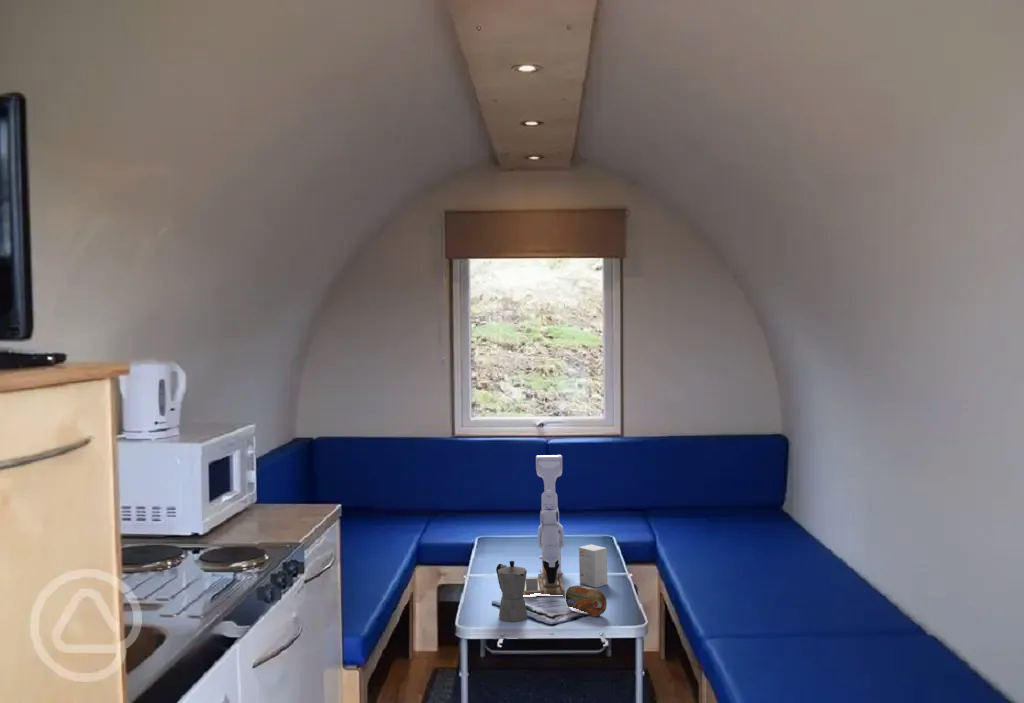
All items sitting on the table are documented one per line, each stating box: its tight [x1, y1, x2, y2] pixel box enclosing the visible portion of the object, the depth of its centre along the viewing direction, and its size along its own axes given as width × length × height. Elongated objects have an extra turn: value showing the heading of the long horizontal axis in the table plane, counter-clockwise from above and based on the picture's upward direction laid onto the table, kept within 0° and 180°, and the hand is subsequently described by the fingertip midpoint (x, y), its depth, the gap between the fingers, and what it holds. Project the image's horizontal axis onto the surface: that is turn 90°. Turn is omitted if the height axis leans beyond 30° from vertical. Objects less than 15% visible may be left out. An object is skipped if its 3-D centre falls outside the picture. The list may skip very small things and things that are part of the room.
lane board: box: [523, 573, 566, 597], centre depth 307 cm, size 20×15×2 cm
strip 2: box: [540, 572, 559, 587], centre depth 313 cm, size 15×5×5 cm, turn 1°
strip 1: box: [524, 576, 540, 593], centre depth 307 cm, size 15×5×5 cm, turn 1°
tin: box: [564, 585, 608, 618], centre depth 280 cm, size 15×3×8 cm, turn 47°
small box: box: [578, 543, 608, 589], centre depth 311 cm, size 8×6×13 cm
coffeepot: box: [495, 560, 528, 623], centre depth 278 cm, size 15×9×18 cm, turn 33°
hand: (551, 582), depth 307 cm, fingers closed on strip 2, 2 cm apart
